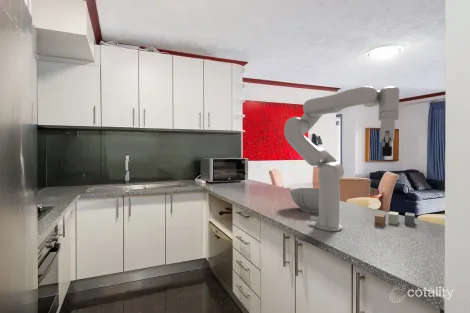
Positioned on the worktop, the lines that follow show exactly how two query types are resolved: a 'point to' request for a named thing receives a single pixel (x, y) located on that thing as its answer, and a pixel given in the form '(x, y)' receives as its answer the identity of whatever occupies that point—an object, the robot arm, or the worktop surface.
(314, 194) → the decorative bowl
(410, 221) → the charcoal brick
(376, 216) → the walnut brick
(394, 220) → the sage brick
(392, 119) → the robot arm
